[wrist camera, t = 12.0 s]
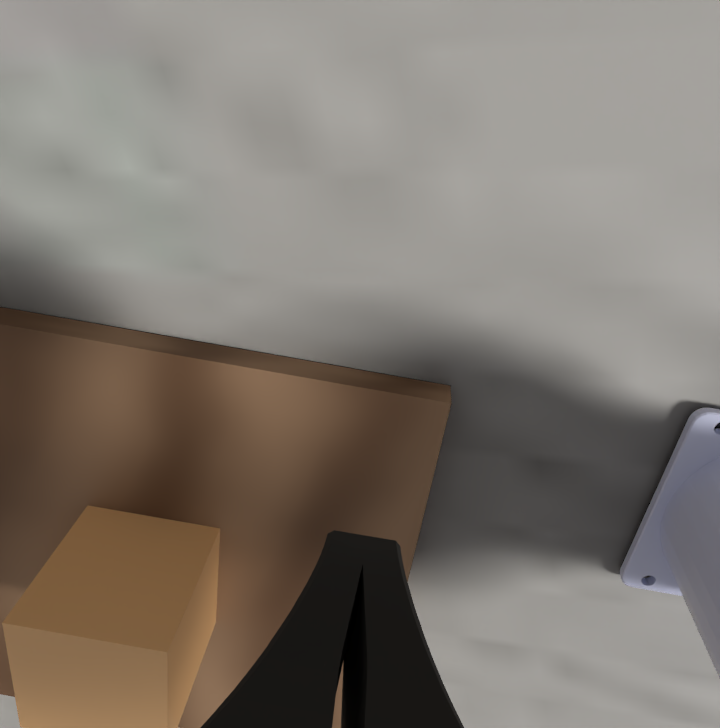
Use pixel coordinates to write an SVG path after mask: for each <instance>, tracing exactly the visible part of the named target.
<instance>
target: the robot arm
mask: <svg viewBox="0 0 720 728" xmlns="http://www.w3.org/2000/svg"><path fill="white" fill-rule="evenodd" d="M718 423H720V409H714V408H700V409H697V410H696V411H694V412H693V413H692V414H691V415H690V417H689V418H688V420H687V423H686V425H685V427H684V429H683V431H682V434H681V436H680V438H679V440H678V442H677V445H676V447H675V449H674V451H673V454H672V456H671V458H670V460H669V462H668V465H667V467H666V469H665V471H664V473H663V476H662V478H661V480H660V482H659V484H658V487H657V489H656V491H655V493H654V495H653V498H652V500H651V502H650V504H649V507H648V509H647V511H646V513H645V515H644V518H643V520H642V522H641V524H640V526H639V529H638V531H637V533H636V535H635V537H634V540H633V542H632V544H631V546H630V548H629V551H628V553H627V555H626V557H625V560H624V562H623V564H622V566H621V568H620V576H621V579H622V581H623V583H624V584H625V585H627V586H630V587H635V588H641V589H646V590H652V591H657V592H663V593H669V594H674V595H680V596H683V597H684V600H685V602H686V604H687V606H688V608H689V611H690V613H691V615H692V617H693V620H694V622H695V624H696V626H697V629H698V631H699V633H700V635H701V637H702V640H703V642H704V644H705V646H706V649H707V651H708V653H709V655H710V658H711V660H712V662H713V664H714V666H715V669H716V671H717V673H718V675H719V678H720V428H718V429H714V427H715V426H716V425H717V424H718ZM645 576H650V577H648V578H643V577H645ZM342 665H343V684H342V710H341V728H464V727H463V725H462V723H461V721H460V719H459V717H458V715H457V713H456V711H455V709H454V706H453V704H452V702H451V700H450V698H449V696H448V693H447V691H446V689H445V687H444V684H443V682H442V680H441V677H440V675H439V673H438V670H437V668H436V665H435V663H434V660H433V658H432V655H431V653H430V650H429V648H428V645H427V642H426V640H425V637H424V634H423V631H422V628H421V625H420V622H419V619H418V616H417V613H416V610H415V607H414V604H413V601H412V597H411V594H410V590H409V586H408V583H407V579H406V575H405V570H404V566H403V560H402V555H401V547H400V545H399V544H398V543H397V541H395V540H389V539H383V538H377V537H372V536H366V535H360V534H354V533H348V532H342V531H336V530H333V531H332V532H330V533H328V534H327V537H326V541H325V544H324V547H323V550H322V552H321V555H320V557H319V559H318V562H317V564H316V566H315V568H314V570H313V572H312V574H311V576H310V578H309V580H308V582H307V584H306V585H305V587H304V589H303V591H302V592H301V594H300V596H299V597H298V599H297V601H296V603H295V604H294V606H293V608H292V609H291V611H290V613H289V614H288V616H287V617H286V619H285V620H284V622H283V623H282V625H281V626H280V628H279V629H278V631H277V632H276V634H275V635H274V637H273V638H272V640H271V641H270V643H269V644H268V646H267V647H266V648H265V650H264V651H263V653H262V654H261V655H260V657H259V658H258V659H257V661H256V662H255V663H254V665H253V666H252V667H251V669H250V670H249V671H248V672H247V674H246V675H245V676H244V677H243V679H242V680H241V681H240V682H239V684H238V685H237V686H236V687H235V689H234V690H233V691H232V692H231V693H230V695H229V696H228V697H227V698H226V699H225V700H224V702H223V703H222V704H221V705H220V706H219V707H218V708H217V710H216V711H215V712H214V713H213V714H212V715H211V717H210V718H209V719H208V720H207V721H206V722H205V723H204V724H203V725H202V726H201V728H332V724H333V715H334V706H335V697H336V692H337V687H338V683H339V678H340V674H341V669H342Z"/></svg>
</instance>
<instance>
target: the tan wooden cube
mask: <svg viewBox="0 0 720 728" xmlns="http://www.w3.org/2000/svg"><path fill="white" fill-rule="evenodd" d="M219 543H220V528H215V527H209V526H203V525H198V524H192V523H186V522H180V521H175V520H169V519H163V518H157V517H152V516H146V515H140V514H134V513H129V512H123V511H117V510H111V509H106V508H100V507H94V506H87V507H86V508H85V510H84V511H83V512H82V514H81V515H80V517H79V518H78V519H77V521H76V522H75V523H74V525H73V526H72V528H71V529H70V530H69V532H68V533H67V534H66V536H65V537H64V539H63V540H62V541H61V543H60V544H59V545H58V547H57V548H56V550H55V551H54V552H53V554H52V555H51V556H50V558H49V559H48V561H47V562H46V563H45V565H44V566H43V567H42V569H41V570H40V572H39V573H38V574H37V576H36V577H35V578H34V580H33V581H32V583H31V584H30V585H29V587H28V588H27V589H26V591H25V592H24V594H23V595H22V596H21V598H20V599H19V600H18V602H17V603H16V605H15V606H14V607H13V609H12V610H11V611H10V613H9V614H8V616H7V617H6V618H5V620H4V621H3V622H2V625H3V631H4V637H5V642H6V648H7V654H8V659H9V665H10V671H11V676H12V682H13V688H14V693H15V699H16V705H17V711H18V716H19V722H20V727H23V728H177V727H178V725H179V722H180V719H181V717H182V714H183V711H184V708H185V706H186V703H187V700H188V697H189V695H190V692H191V689H192V686H193V684H194V681H195V678H196V675H197V673H198V670H199V667H200V664H201V662H202V659H203V656H204V654H205V651H206V648H207V645H208V643H209V640H210V637H211V634H212V632H213V629H214V626H215V623H216V609H217V587H218V565H219Z"/></svg>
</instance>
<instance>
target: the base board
mask: <svg viewBox="0 0 720 728" xmlns="http://www.w3.org/2000/svg"><path fill="white" fill-rule="evenodd" d="M450 407H451V387H450V386H449V385H443V384H438V383H432V382H426V381H421V380H415V379H409V378H403V377H398V376H392V375H386V374H380V373H375V372H369V371H363V370H358V369H352V368H346V367H340V366H335V365H329V364H323V363H318V362H312V361H306V360H300V359H295V358H289V357H283V356H278V355H272V354H266V353H260V352H255V351H249V350H243V349H238V348H232V347H226V346H220V345H215V344H209V343H203V342H198V341H192V340H186V339H180V338H175V337H169V336H163V335H157V334H152V333H146V332H140V331H135V330H129V329H123V328H117V327H112V326H106V325H100V324H95V323H89V322H83V321H77V320H72V319H66V318H60V317H55V316H49V315H43V314H37V313H32V312H26V311H20V310H15V309H9V308H3V307H0V694H3V695H8V696H14V697H15V693H14V688H13V682H12V676H11V671H10V665H9V659H8V654H7V648H6V642H5V637H4V631H3V625H2V622H3V621H4V620H5V618H6V617H7V616H8V614H9V613H10V611H11V610H12V609H13V607H14V606H15V605H16V603H17V602H18V600H19V599H20V598H21V596H22V595H23V594H24V592H25V591H26V589H27V588H28V587H29V585H30V584H31V583H32V581H33V580H34V578H35V577H36V576H37V574H38V573H39V572H40V570H41V569H42V567H43V566H44V565H45V563H46V562H47V561H48V559H49V558H50V556H51V555H52V554H53V552H54V551H55V550H56V548H57V547H58V545H59V544H60V543H61V541H62V540H63V539H64V537H65V536H66V534H67V533H68V532H69V530H70V529H71V528H72V526H73V525H74V523H75V522H76V521H77V519H78V518H79V517H80V515H81V514H82V512H83V511H84V510H85V508H86V507H87V506H94V507H100V508H106V509H111V510H117V511H123V512H129V513H134V514H140V515H146V516H152V517H157V518H163V519H169V520H175V521H180V522H186V523H192V524H198V525H203V526H209V527H215V528H220V543H219V565H218V587H217V609H216V623H215V626H214V629H213V632H212V634H211V637H210V640H209V643H208V645H207V648H206V651H205V654H204V656H203V659H202V662H201V664H200V667H199V670H198V673H197V675H196V678H195V681H194V684H193V686H192V689H191V692H190V695H189V697H188V700H187V703H186V706H185V708H184V711H183V714H182V717H181V719H180V722H179V725H178V727H179V728H201V726H202V725H203V724H204V723H205V722H206V721H207V720H208V719H209V718H210V717H211V715H212V714H213V713H214V712H215V711H216V710H217V708H218V707H219V706H220V705H221V704H222V703H223V702H224V700H225V699H226V698H227V697H228V696H229V695H230V693H231V692H232V691H233V690H234V689H235V687H236V686H237V685H238V684H239V682H240V681H241V680H242V679H243V677H244V676H245V675H246V674H247V672H248V671H249V670H250V669H251V667H252V666H253V665H254V663H255V662H256V661H257V659H258V658H259V657H260V655H261V654H262V653H263V651H264V650H265V648H266V647H267V646H268V644H269V643H270V641H271V640H272V638H273V637H274V635H275V634H276V632H277V631H278V629H279V628H280V626H281V625H282V623H283V622H284V620H285V619H286V617H287V616H288V614H289V613H290V611H291V609H292V608H293V606H294V604H295V603H296V601H297V599H298V597H299V596H300V594H301V592H302V591H303V589H304V587H305V585H306V584H307V582H308V580H309V578H310V576H311V574H312V572H313V570H314V568H315V566H316V564H317V562H318V559H319V557H320V555H321V552H322V550H323V547H324V544H325V541H326V537H327V534H328V533H330V532H332V531H333V530H336V531H342V532H348V533H354V534H360V535H366V536H372V537H377V538H383V539H389V540H395V541H397V543H398V544H399V545H400V547H401V555H402V560H403V566H404V570H405V575H406V579H407V581H408V577H409V573H410V569H411V565H412V561H413V557H414V553H415V549H416V545H417V541H418V537H419V533H420V529H421V525H422V521H423V516H424V512H425V508H426V504H427V500H428V496H429V492H430V488H431V484H432V480H433V476H434V472H435V468H436V464H437V460H438V456H439V452H440V448H441V444H442V439H443V435H444V431H445V427H446V423H447V419H448V415H449V411H450ZM342 684H343V665H342V669H341V674H340V678H339V683H338V687H337V692H336V697H335V706H334V715H333V724H332V728H341V710H342Z"/></svg>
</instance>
